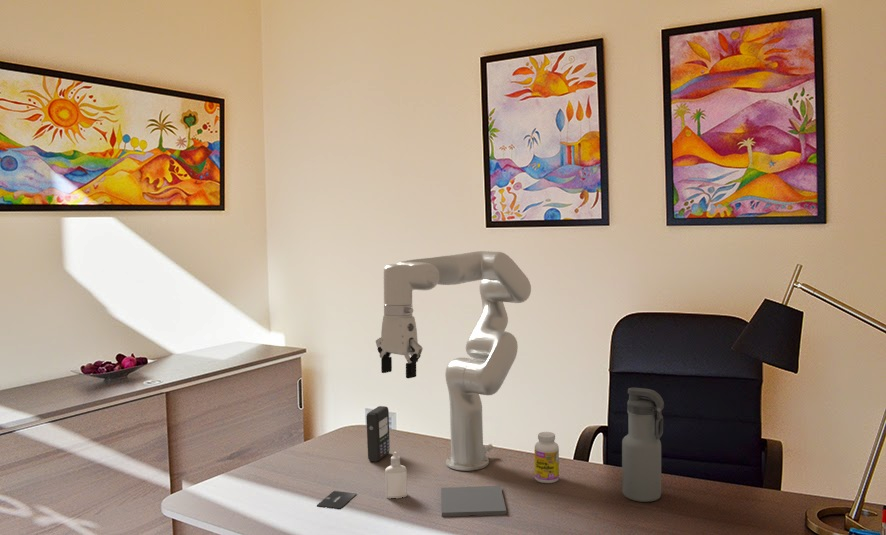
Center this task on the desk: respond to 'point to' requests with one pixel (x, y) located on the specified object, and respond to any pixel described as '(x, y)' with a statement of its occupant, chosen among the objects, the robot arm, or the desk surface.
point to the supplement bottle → (546, 458)
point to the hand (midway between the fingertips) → (398, 374)
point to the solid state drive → (336, 500)
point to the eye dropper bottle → (396, 479)
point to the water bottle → (642, 446)
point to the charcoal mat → (472, 501)
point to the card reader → (378, 433)
